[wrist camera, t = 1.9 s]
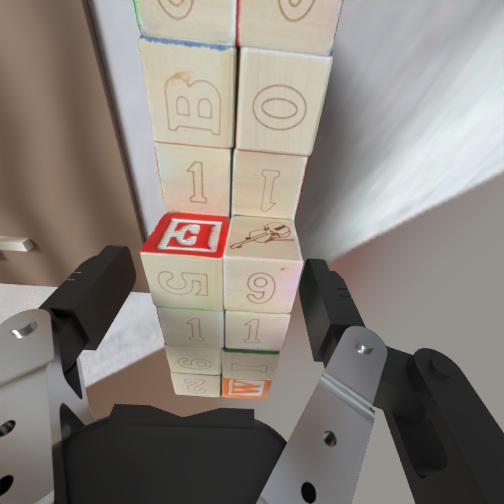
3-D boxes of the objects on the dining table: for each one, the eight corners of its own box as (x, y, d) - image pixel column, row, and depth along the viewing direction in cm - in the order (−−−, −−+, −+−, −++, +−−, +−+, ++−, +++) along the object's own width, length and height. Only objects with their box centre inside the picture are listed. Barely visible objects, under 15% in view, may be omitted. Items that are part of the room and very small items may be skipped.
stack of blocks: (195, -17, 13) (-28, -369, 3) (308, -2, 13) (480, -282, 3) (206, 274, 25) (173, 399, 15) (263, 279, 26) (266, 404, 16)
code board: (79, -29, 12) (62, -40, 11) (156, 289, 27) (152, 298, 25) (-277, -65, 12) (-334, -80, 11) (-5, 279, 26) (-16, 287, 25)
